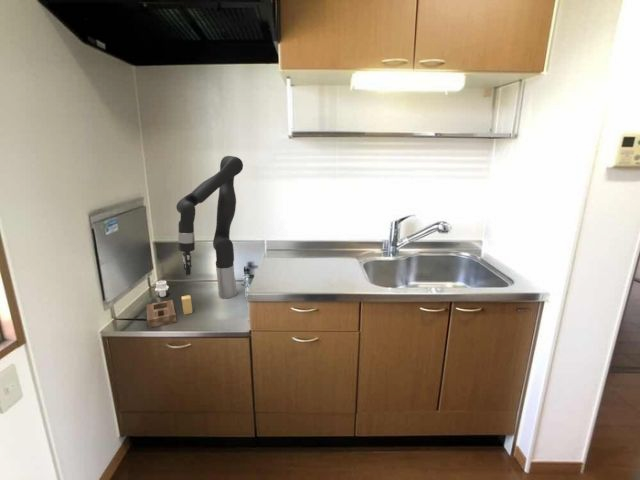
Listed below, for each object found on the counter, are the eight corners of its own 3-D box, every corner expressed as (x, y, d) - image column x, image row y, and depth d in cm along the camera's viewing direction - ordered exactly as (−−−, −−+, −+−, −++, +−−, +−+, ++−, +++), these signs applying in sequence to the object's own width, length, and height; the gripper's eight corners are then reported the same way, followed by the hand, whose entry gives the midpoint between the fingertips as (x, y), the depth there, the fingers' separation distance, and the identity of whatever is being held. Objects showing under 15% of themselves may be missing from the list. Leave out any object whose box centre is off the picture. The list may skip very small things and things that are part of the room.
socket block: (173, 306, 180) (172, 299, 179) (176, 322, 164) (175, 314, 163) (147, 311, 175) (146, 304, 174) (148, 328, 159) (147, 320, 158)
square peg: (191, 309, 177) (189, 294, 175) (192, 312, 173) (190, 298, 171) (183, 311, 175) (181, 296, 173) (184, 314, 172) (182, 299, 169)
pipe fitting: (161, 292, 197) (159, 279, 195) (172, 294, 195) (170, 280, 193) (153, 297, 191) (151, 283, 189) (164, 298, 189) (162, 285, 187)
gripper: (196, 244, 168) (196, 275, 172) (192, 237, 180) (193, 267, 184) (179, 244, 164) (180, 277, 168) (177, 237, 177) (177, 268, 181)
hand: (187, 272), depth 176 cm, fingers open, 8 cm apart
